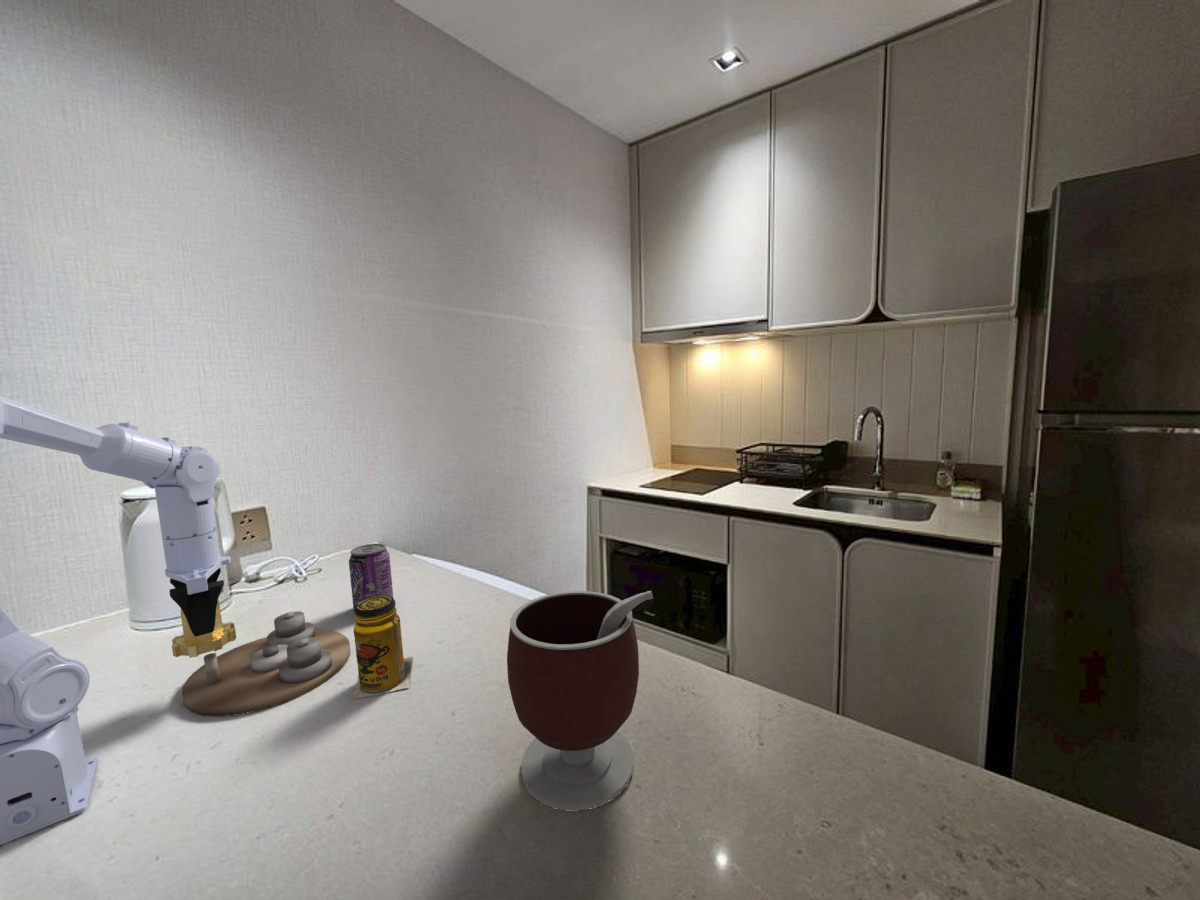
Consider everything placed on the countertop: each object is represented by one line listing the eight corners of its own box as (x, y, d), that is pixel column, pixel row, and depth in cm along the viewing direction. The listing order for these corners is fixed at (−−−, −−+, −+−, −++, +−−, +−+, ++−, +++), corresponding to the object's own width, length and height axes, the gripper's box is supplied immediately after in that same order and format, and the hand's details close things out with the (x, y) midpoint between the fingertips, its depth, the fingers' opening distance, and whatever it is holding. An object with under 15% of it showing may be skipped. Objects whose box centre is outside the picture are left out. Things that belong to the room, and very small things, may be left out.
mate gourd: (495, 812, 48) (482, 618, 45) (533, 718, 61) (525, 564, 59) (655, 826, 46) (650, 623, 43) (657, 725, 59) (654, 566, 57)
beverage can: (354, 605, 97) (348, 546, 95) (393, 597, 100) (388, 540, 98) (353, 619, 90) (346, 557, 89) (394, 611, 93) (389, 550, 92)
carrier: (366, 671, 73) (363, 634, 72) (183, 740, 60) (176, 695, 59) (333, 623, 89) (329, 593, 88) (182, 669, 76) (176, 633, 75)
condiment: (352, 700, 66) (343, 616, 65) (362, 667, 74) (354, 592, 73) (409, 689, 69) (402, 607, 67) (413, 658, 77) (406, 584, 75)
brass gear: (237, 644, 69) (232, 607, 68) (172, 663, 64) (166, 624, 63) (234, 626, 74) (229, 591, 73) (173, 642, 70) (168, 606, 69)
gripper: (230, 537, 64) (243, 635, 66) (222, 518, 75) (233, 602, 77) (158, 550, 60) (174, 655, 61) (161, 527, 71) (174, 617, 72)
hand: (203, 627), depth 69 cm, fingers closed on brass gear, 4 cm apart
